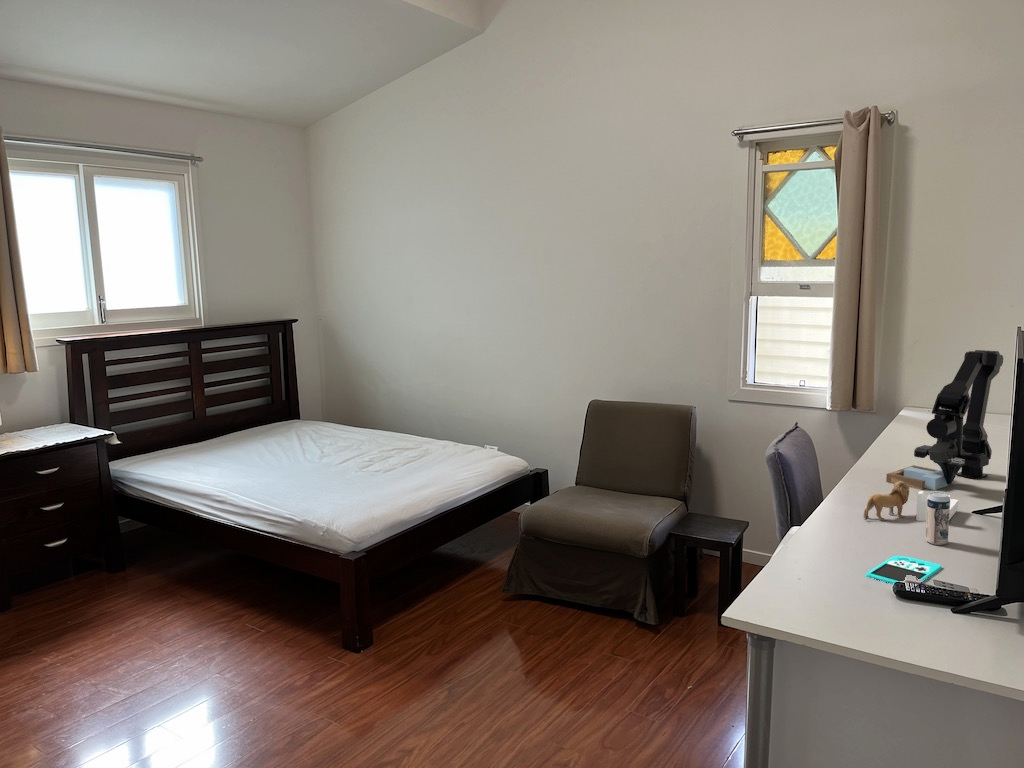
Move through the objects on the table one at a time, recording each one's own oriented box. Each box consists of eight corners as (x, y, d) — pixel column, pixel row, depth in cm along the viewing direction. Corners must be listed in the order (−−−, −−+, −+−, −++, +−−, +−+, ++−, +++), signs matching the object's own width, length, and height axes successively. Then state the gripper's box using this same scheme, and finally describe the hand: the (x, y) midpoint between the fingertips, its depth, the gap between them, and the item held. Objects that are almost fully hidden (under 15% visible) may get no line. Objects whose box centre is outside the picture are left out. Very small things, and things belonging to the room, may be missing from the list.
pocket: (913, 472, 238) (913, 465, 238) (948, 480, 229) (949, 472, 228) (886, 481, 230) (886, 474, 230) (922, 489, 221) (922, 481, 220)
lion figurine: (896, 510, 205) (898, 478, 203) (914, 515, 200) (915, 482, 199) (857, 519, 199) (858, 486, 198) (873, 525, 194) (874, 491, 193)
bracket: (946, 526, 192) (948, 498, 191) (916, 521, 197) (917, 493, 195) (957, 512, 202) (959, 485, 200) (928, 507, 206) (929, 481, 205)
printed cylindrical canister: (939, 547, 178) (942, 499, 176) (920, 541, 182) (923, 493, 180) (952, 543, 180) (954, 495, 178) (933, 537, 184) (935, 490, 182)
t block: (915, 476, 234) (916, 465, 234) (952, 483, 225) (953, 472, 225) (898, 482, 229) (898, 471, 228) (934, 490, 220) (935, 478, 219)
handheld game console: (943, 570, 166) (943, 564, 166) (913, 592, 156) (913, 586, 156) (896, 558, 174) (896, 552, 174) (864, 579, 164) (864, 573, 164)
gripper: (904, 432, 222) (903, 483, 225) (971, 442, 207) (968, 496, 209) (924, 426, 228) (923, 476, 231) (991, 436, 213) (988, 489, 215)
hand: (949, 484), depth 221 cm, fingers closed
